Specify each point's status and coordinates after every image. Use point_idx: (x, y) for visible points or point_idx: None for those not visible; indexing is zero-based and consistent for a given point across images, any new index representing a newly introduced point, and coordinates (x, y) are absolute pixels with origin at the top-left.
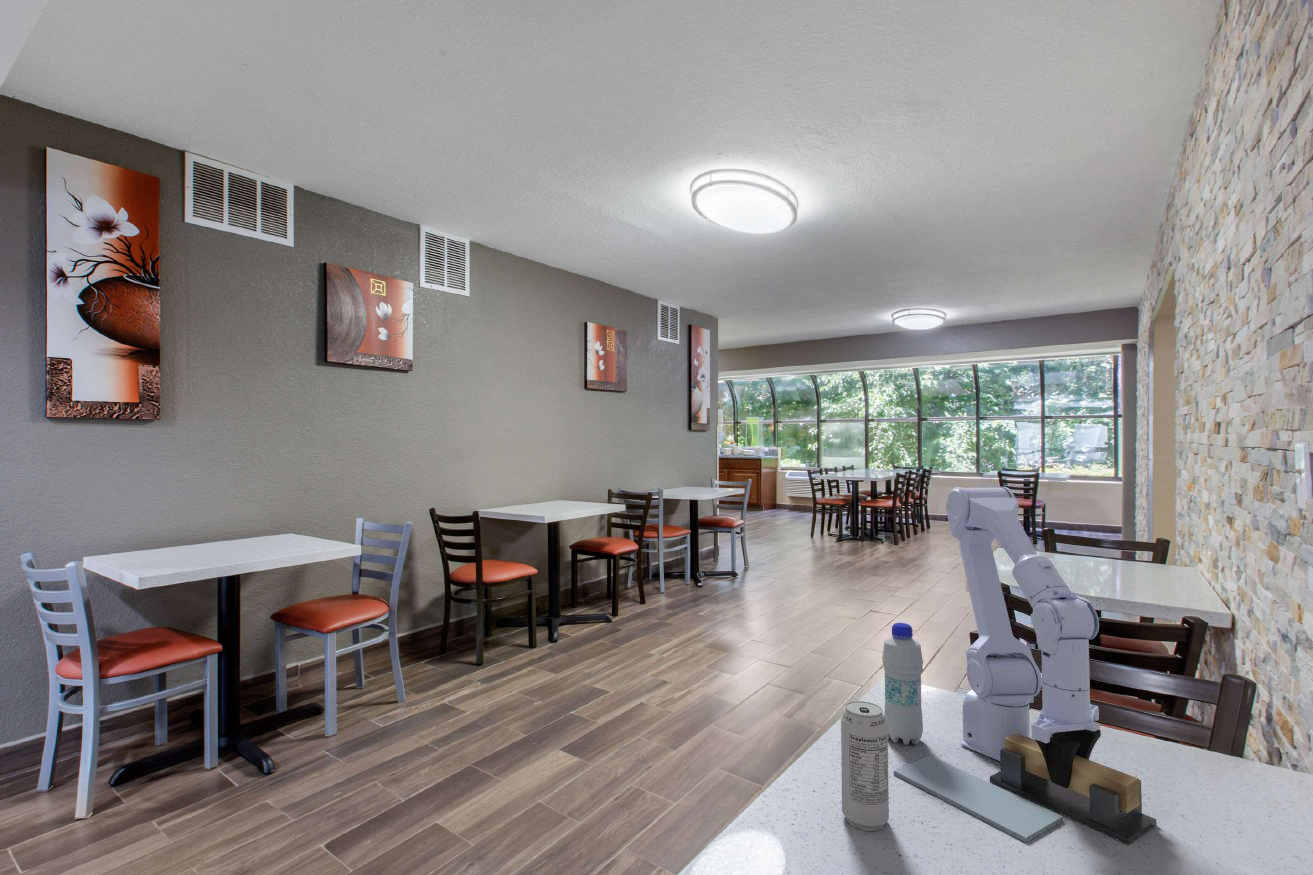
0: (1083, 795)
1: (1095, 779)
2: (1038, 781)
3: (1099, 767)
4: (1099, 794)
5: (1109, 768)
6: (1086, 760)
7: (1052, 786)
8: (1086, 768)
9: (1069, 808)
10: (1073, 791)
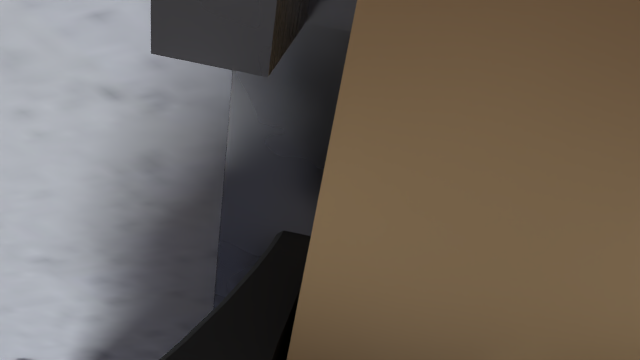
0: (310, 169)
1: None
2: None
3: (449, 223)
4: None
5: (362, 116)
6: (334, 353)
7: None
8: (603, 329)
9: None
10: (307, 218)
